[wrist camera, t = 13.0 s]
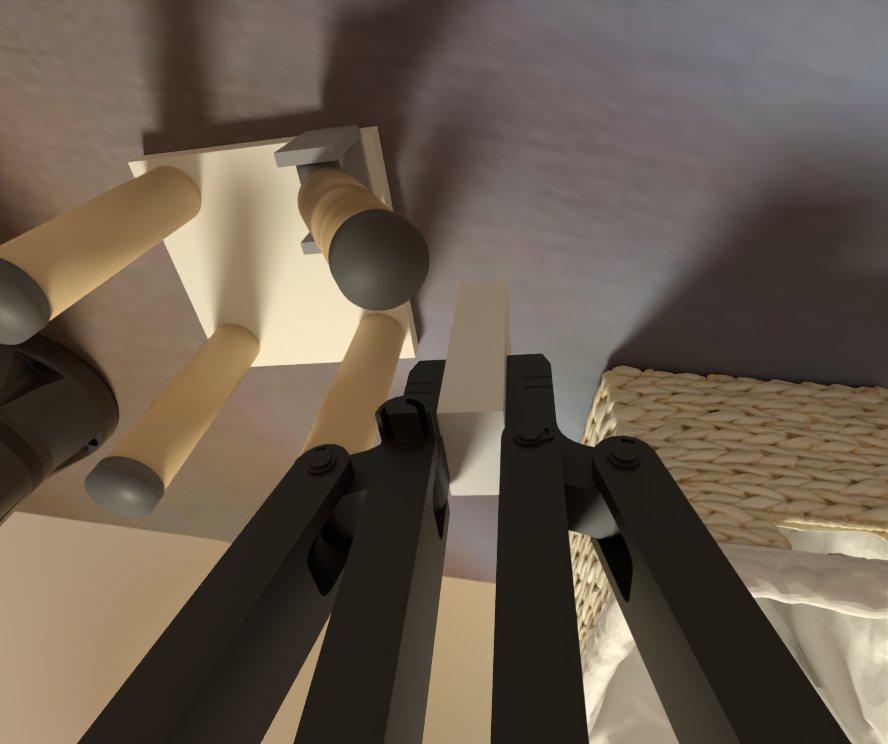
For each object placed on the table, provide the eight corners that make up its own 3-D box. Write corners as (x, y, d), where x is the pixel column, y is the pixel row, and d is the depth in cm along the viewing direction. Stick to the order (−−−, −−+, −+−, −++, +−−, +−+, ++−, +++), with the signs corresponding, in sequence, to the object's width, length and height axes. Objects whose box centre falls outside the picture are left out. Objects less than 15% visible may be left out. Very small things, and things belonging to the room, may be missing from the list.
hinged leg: (360, 214, 36) (299, 229, 35) (345, 149, 33) (279, 163, 32) (435, 295, 24) (347, 322, 23) (421, 205, 22) (322, 230, 21)
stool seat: (230, 355, 49) (103, 521, 34) (139, 147, 39) (-105, 249, 23) (418, 344, 47) (373, 520, 31) (375, 116, 36) (274, 209, 21)
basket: (783, 569, 60) (897, 810, 42) (544, 544, 61) (559, 766, 44) (916, 377, 44) (1189, 635, 26) (589, 351, 45) (640, 577, 28)
